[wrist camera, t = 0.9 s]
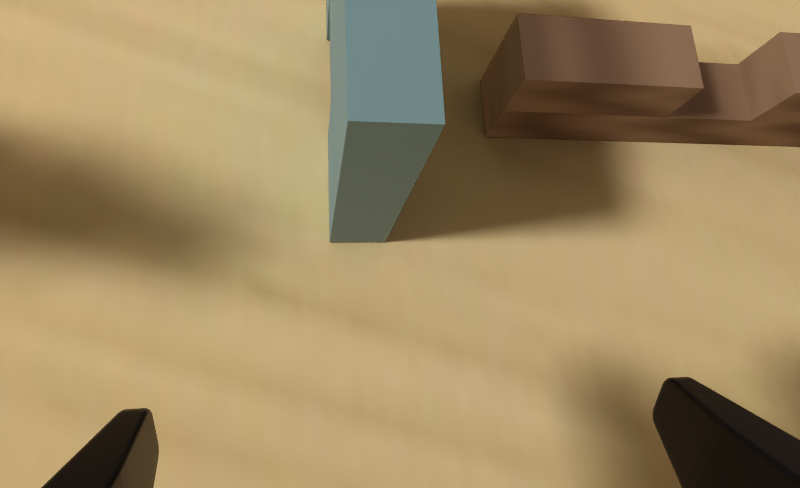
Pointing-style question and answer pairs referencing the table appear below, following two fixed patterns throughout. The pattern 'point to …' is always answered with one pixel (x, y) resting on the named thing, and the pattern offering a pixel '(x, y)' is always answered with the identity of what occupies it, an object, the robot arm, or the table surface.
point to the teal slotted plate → (380, 110)
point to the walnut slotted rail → (637, 85)
